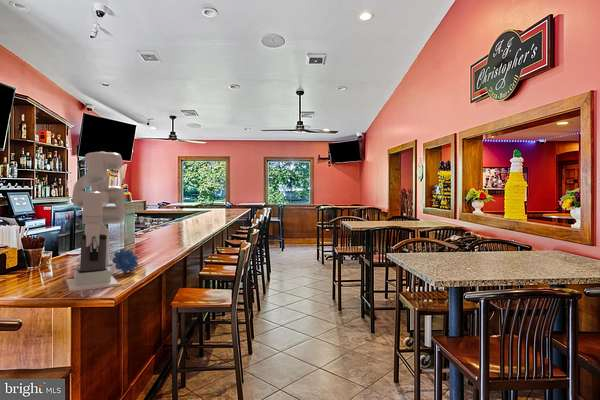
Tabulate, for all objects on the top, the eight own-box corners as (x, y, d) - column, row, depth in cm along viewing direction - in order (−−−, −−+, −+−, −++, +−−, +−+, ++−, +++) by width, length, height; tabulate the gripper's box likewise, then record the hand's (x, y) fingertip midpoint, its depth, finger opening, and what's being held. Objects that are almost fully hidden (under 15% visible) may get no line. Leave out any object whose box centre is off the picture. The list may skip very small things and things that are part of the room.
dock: (66, 281, 165) (66, 268, 165) (111, 276, 176) (111, 264, 175) (69, 291, 150) (69, 276, 150) (118, 285, 161) (118, 271, 161)
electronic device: (102, 278, 168) (104, 234, 169) (105, 280, 163) (107, 235, 164) (78, 280, 162) (80, 234, 163) (81, 282, 157) (83, 235, 158)
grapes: (112, 275, 178) (112, 250, 178) (112, 272, 184) (112, 248, 184) (138, 273, 183) (138, 249, 183) (137, 270, 189) (138, 247, 189)
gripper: (80, 218, 167) (80, 256, 167) (85, 222, 153) (84, 263, 153) (99, 218, 171) (99, 255, 172) (105, 221, 157) (105, 261, 158)
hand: (92, 259), depth 163 cm, fingers open, 9 cm apart
